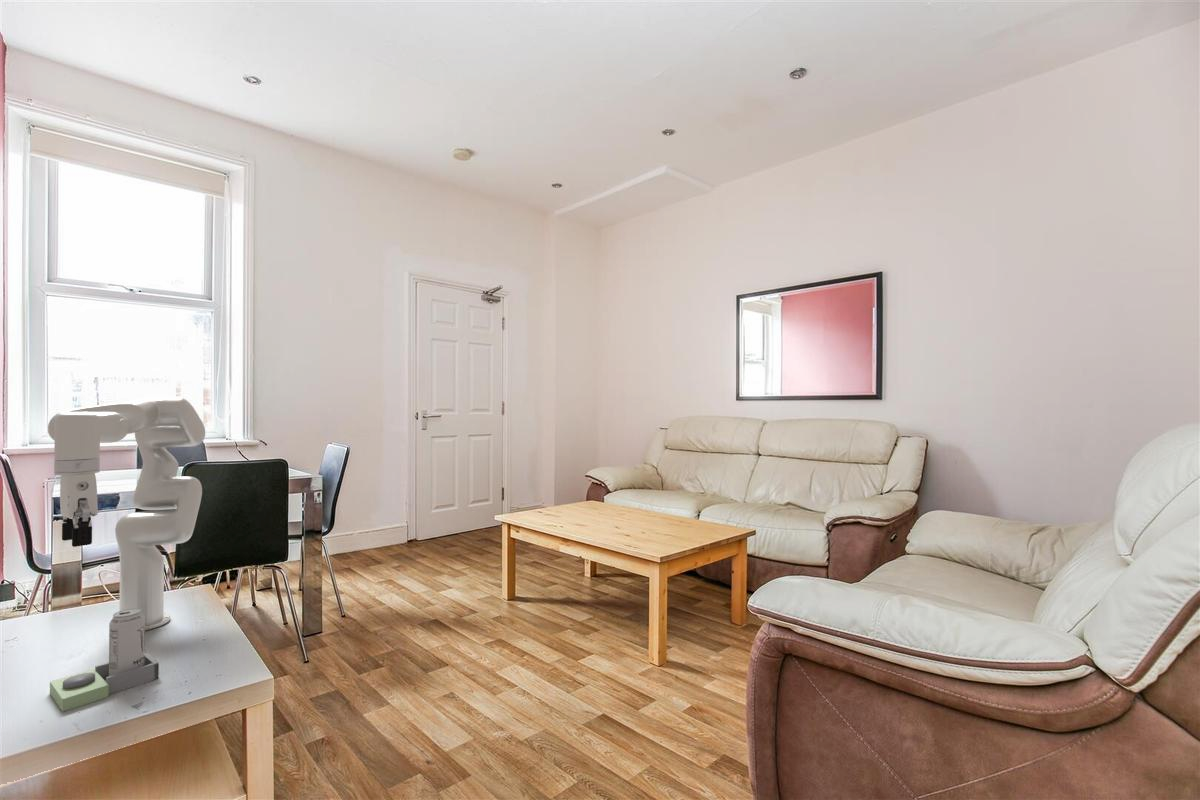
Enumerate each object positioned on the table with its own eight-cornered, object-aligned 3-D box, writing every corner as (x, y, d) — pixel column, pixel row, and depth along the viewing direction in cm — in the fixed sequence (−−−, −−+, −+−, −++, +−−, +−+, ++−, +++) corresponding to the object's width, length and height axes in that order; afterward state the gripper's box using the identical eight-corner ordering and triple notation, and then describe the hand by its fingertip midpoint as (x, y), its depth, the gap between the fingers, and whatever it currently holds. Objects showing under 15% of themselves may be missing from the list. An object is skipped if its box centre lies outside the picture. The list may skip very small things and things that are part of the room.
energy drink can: (142, 681, 121) (143, 613, 122) (106, 689, 118) (107, 619, 118) (146, 670, 126) (146, 605, 127) (111, 678, 123) (112, 611, 123)
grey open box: (49, 693, 116) (50, 676, 116) (143, 665, 129) (143, 650, 129) (62, 711, 109) (62, 694, 109) (160, 679, 122) (160, 664, 122)
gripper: (109, 467, 123) (108, 544, 122) (89, 463, 133) (89, 534, 133) (63, 471, 116) (62, 551, 116) (46, 466, 127) (45, 540, 126)
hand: (76, 542), depth 124 cm, fingers open, 9 cm apart
